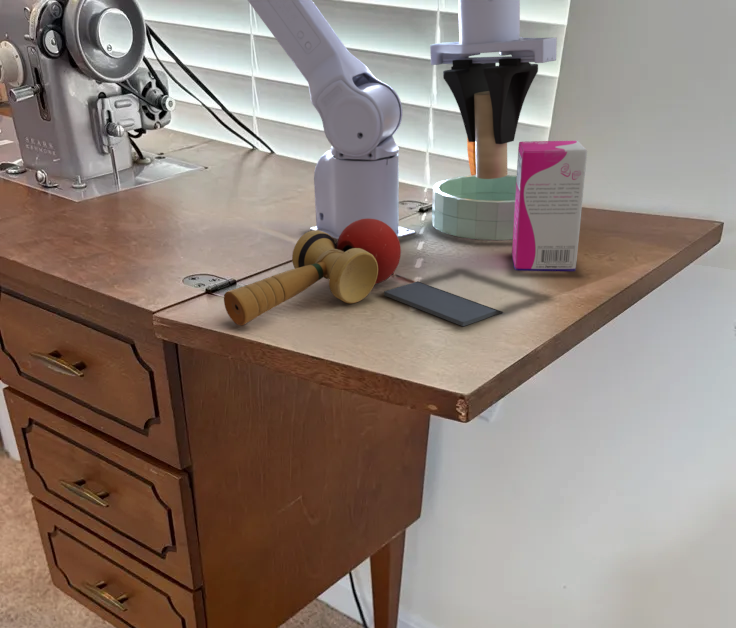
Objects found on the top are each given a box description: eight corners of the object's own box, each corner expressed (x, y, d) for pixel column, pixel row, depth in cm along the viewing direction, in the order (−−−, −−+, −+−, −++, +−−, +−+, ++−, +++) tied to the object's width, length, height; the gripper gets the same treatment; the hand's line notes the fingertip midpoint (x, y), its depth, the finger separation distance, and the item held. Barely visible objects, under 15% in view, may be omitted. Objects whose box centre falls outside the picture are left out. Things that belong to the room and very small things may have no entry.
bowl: (407, 226, 91) (408, 187, 89) (489, 206, 99) (491, 169, 97) (496, 252, 82) (499, 208, 80) (579, 228, 89) (584, 187, 87)
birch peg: (469, 177, 82) (467, 94, 78) (490, 171, 83) (489, 90, 80) (492, 180, 79) (491, 95, 76) (513, 174, 81) (513, 90, 77)
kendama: (273, 354, 63) (427, 273, 72) (249, 280, 60) (412, 205, 70) (224, 343, 69) (372, 269, 78) (200, 274, 66) (356, 206, 75)
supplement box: (568, 257, 80) (580, 138, 74) (575, 275, 75) (589, 150, 69) (510, 256, 80) (518, 139, 75) (513, 275, 75) (522, 150, 70)
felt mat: (383, 295, 71) (383, 291, 71) (462, 271, 76) (462, 267, 76) (463, 326, 64) (463, 322, 64) (543, 298, 70) (543, 293, 69)
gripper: (579, -21, 70) (574, 138, 77) (462, -8, 81) (466, 131, 87) (528, -16, 67) (527, 151, 73) (412, -3, 77) (420, 142, 83)
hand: (491, 141), depth 80 cm, fingers closed on birch peg, 3 cm apart
